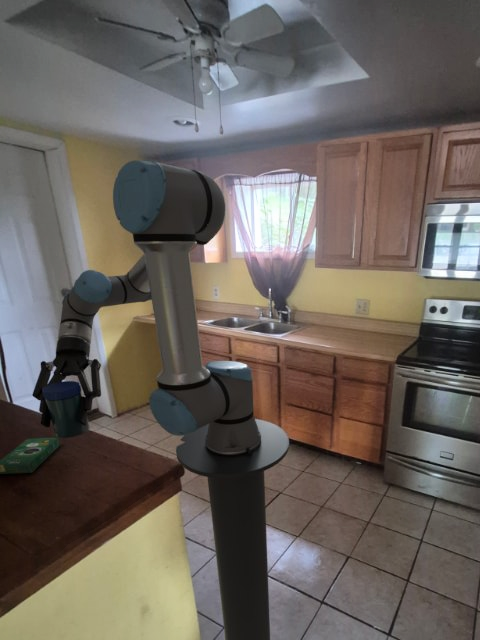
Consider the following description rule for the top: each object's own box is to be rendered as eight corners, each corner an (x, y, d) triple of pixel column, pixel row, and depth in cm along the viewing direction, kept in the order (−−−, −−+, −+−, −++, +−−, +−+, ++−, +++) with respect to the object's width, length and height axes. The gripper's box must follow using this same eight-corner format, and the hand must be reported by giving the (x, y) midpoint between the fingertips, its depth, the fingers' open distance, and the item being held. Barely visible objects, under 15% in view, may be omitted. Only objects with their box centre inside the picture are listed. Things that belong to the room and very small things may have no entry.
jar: (95, 429, 95) (85, 387, 91) (64, 441, 89) (51, 396, 85) (80, 421, 99) (70, 381, 95) (50, 432, 93) (37, 389, 89)
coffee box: (28, 447, 100) (-3, 475, 87) (25, 438, 98) (-7, 465, 86) (60, 446, 100) (33, 473, 88) (57, 436, 99) (30, 463, 87)
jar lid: (87, 392, 91) (85, 385, 90) (53, 402, 85) (50, 395, 85) (71, 385, 95) (69, 378, 95) (37, 395, 89) (35, 388, 89)
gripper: (23, 336, 93) (7, 422, 85) (110, 333, 96) (102, 416, 88) (39, 351, 100) (26, 432, 92) (119, 348, 103) (113, 426, 95)
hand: (63, 424), depth 90 cm, fingers closed on jar, 8 cm apart
